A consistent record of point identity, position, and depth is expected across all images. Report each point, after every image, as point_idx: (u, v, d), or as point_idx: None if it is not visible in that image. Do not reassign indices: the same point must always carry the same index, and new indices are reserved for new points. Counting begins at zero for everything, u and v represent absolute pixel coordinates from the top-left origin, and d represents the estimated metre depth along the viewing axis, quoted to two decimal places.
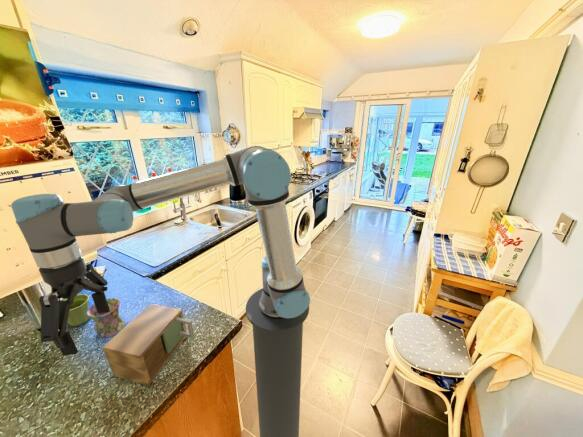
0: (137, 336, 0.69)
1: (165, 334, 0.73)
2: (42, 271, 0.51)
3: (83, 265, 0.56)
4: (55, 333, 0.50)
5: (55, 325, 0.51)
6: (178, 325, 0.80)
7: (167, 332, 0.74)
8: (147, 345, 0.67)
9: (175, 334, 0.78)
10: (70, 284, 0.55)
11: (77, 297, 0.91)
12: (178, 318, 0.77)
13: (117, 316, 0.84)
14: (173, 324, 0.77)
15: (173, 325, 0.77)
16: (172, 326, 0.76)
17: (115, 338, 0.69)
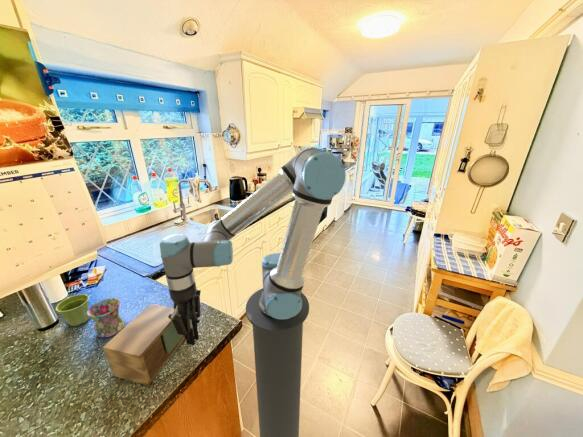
0: (137, 336, 0.69)
1: (165, 334, 0.73)
2: (170, 291, 0.69)
3: (195, 289, 0.72)
4: (184, 331, 0.73)
5: (183, 328, 0.72)
6: None
7: (167, 332, 0.74)
8: (147, 345, 0.67)
9: (175, 334, 0.78)
10: (184, 303, 0.72)
11: (77, 297, 0.91)
12: None
13: (117, 316, 0.84)
14: (173, 324, 0.77)
15: (173, 325, 0.77)
16: (172, 326, 0.76)
17: (115, 338, 0.69)
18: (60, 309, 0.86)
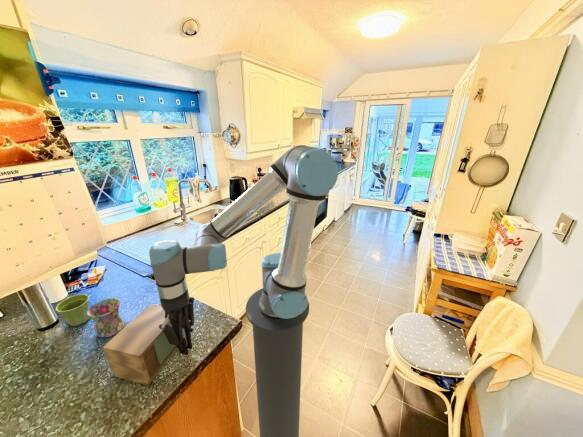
0: (137, 336, 0.69)
1: (156, 344, 0.70)
2: (161, 299, 0.65)
3: (187, 297, 0.69)
4: (176, 341, 0.69)
5: (175, 338, 0.69)
6: None
7: (158, 342, 0.71)
8: (147, 345, 0.67)
9: (167, 343, 0.75)
10: (176, 312, 0.68)
11: (77, 297, 0.91)
12: None
13: (117, 316, 0.84)
14: None
15: None
16: (164, 335, 0.73)
17: (115, 338, 0.69)
18: (60, 309, 0.86)
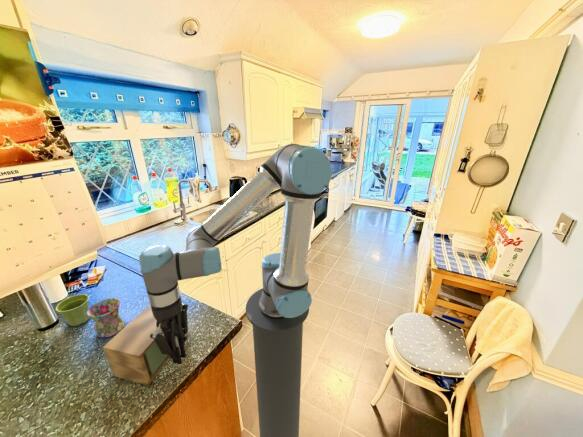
0: (137, 336, 0.69)
1: (148, 354, 0.67)
2: (152, 308, 0.62)
3: (180, 305, 0.66)
4: (169, 351, 0.66)
5: (167, 348, 0.66)
6: None
7: (150, 351, 0.68)
8: (147, 345, 0.67)
9: (160, 352, 0.72)
10: (168, 321, 0.65)
11: (77, 297, 0.91)
12: (163, 335, 0.71)
13: (117, 316, 0.84)
14: None
15: None
16: (156, 344, 0.70)
17: (115, 338, 0.69)
18: (60, 309, 0.86)
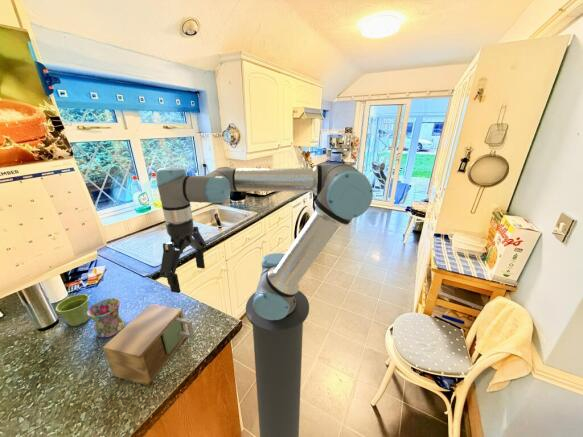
0: (137, 336, 0.69)
1: (165, 334, 0.73)
2: (167, 224, 0.68)
3: (192, 226, 0.71)
4: (168, 272, 0.66)
5: (169, 266, 0.67)
6: (178, 326, 0.79)
7: (167, 332, 0.74)
8: (147, 345, 0.67)
9: (175, 334, 0.78)
10: (182, 238, 0.71)
11: (77, 297, 0.91)
12: (178, 318, 0.77)
13: (117, 316, 0.84)
14: (173, 324, 0.77)
15: (173, 325, 0.77)
16: (172, 326, 0.76)
17: (115, 338, 0.69)
18: (60, 309, 0.86)
